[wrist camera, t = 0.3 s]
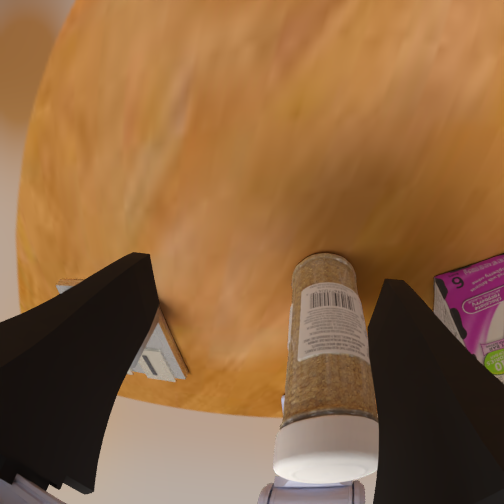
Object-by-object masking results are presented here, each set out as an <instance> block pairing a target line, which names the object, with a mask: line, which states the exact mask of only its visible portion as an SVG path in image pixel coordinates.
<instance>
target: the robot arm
mask: <svg viewBox="0 0 504 504" xmlns="http://www.w3.org/2000/svg"><path fill="white" fill-rule="evenodd" d="M159 304H160V303H159V299H158V294H157V289H156V285H155V280H154V275H153V270H152V264H151V259H150V254H144V253H136V252H133V253H131V254H128V255H126V256H124V257H122V258H121V259H119V260H117V261H115V262H113V263H112V264H110V265H108V266H107V267H105V268H103V269H102V270H100V271H98V272H97V273H95V274H93V275H92V276H90V277H88V278H87V279H85V280H83V281H82V282H80V283H78V284H76V285H75V286H73V287H71V288H69V289H68V290H66V291H64V292H63V293H61V294H59V295H57V296H56V297H54V298H52V299H50V300H48V301H47V302H45V303H43V304H41V305H39V306H37V307H35V308H33V309H31V310H28V311H26V312H24V313H22V314H20V315H17V316H15V317H13V318H10V319H8V320H5V321H3V322H0V504H66V503H64V502H62V501H61V500H59V499H57V498H55V497H54V496H53V495H51V494H49V493H48V492H46V490H47V488H48V486H49V484H50V485H52V486H53V487H55V488H57V489H58V490H59V489H61V486H62V483H64V484H66V485H68V486H70V487H72V488H73V489H75V490H77V491H79V492H81V493H83V494H89V493H92V492H94V485H95V477H96V471H97V464H98V459H99V454H100V450H101V445H102V441H103V437H104V433H105V430H106V426H107V423H108V419H109V416H110V413H111V410H112V407H113V404H114V402H115V399H116V396H117V393H118V391H119V389H120V386H121V384H122V382H123V380H124V378H125V376H126V374H127V372H128V370H129V368H130V366H131V365H132V363H133V361H134V359H135V357H136V355H137V353H138V351H139V349H140V348H141V346H142V344H143V342H144V340H145V338H146V336H147V334H148V332H149V330H150V328H151V325H152V323H153V320H154V318H155V315H156V312H157V309H158V307H159ZM368 347H369V359H370V366H371V372H372V378H373V385H374V391H375V398H376V405H377V413H378V424H379V451H378V468H377V480H376V487H375V494H374V501H373V504H504V384H503V383H502V382H501V381H500V380H499V379H498V378H497V377H495V376H494V375H493V374H492V373H491V372H490V371H489V370H488V369H487V368H486V367H485V366H484V365H483V364H482V363H480V362H479V361H478V360H477V359H476V358H475V357H474V356H473V355H472V354H471V353H470V352H469V351H468V350H467V348H466V347H465V346H464V345H463V344H462V343H461V342H460V341H459V340H458V339H457V338H456V337H455V336H454V335H453V334H452V332H451V331H450V330H449V329H448V328H447V327H446V326H445V325H444V324H443V322H442V321H441V320H440V319H439V318H438V317H437V316H436V315H435V314H434V312H433V311H432V310H431V309H430V308H429V307H428V306H427V305H426V303H425V302H424V301H423V300H422V299H421V298H420V297H419V296H418V295H417V294H416V292H415V291H414V290H413V289H412V288H411V287H410V286H409V285H408V284H407V283H406V282H405V281H403V280H394V279H385V281H384V284H383V287H382V290H381V293H380V295H379V298H378V301H377V304H376V307H375V309H374V312H373V315H372V318H371V320H370V323H369V325H368ZM284 397H285V395H283V396H282V399H281V401H282V409H284V400H285V398H284ZM257 504H365V489H364V485H363V484H361V483H360V481H358V480H357V481H353V484H352V480H351V481H346V482H338V483H325V484H314V483H302V482H296V481H291V480H287V479H285V478H282V477H280V476H275V481H274V483H269V484H268V485H267V486H266V487H264V488H263V489H262V491H261V493H260V495H259V499H258V503H257Z"/></svg>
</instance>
